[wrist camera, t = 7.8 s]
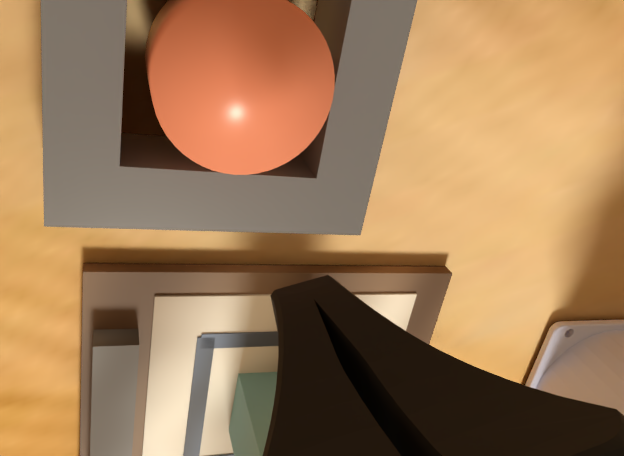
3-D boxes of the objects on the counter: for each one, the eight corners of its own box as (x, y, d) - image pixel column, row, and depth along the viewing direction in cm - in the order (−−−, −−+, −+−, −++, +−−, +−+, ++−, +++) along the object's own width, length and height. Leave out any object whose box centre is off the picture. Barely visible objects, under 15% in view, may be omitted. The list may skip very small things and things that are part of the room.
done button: (317, -9, 18) (351, 6, 15) (290, 144, 20) (317, 179, 17) (150, -38, 16) (157, -27, 14) (140, 132, 18) (145, 169, 16)
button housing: (394, -88, 19) (438, -87, 16) (332, 198, 23) (360, 235, 20) (50, -168, 15) (37, -183, 13) (52, 185, 20) (43, 226, 17)
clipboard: (445, 266, 26) (463, 285, 25) (379, 474, 32) (390, 499, 30) (83, 263, 21) (81, 287, 20) (79, 511, 27) (77, 543, 25)
